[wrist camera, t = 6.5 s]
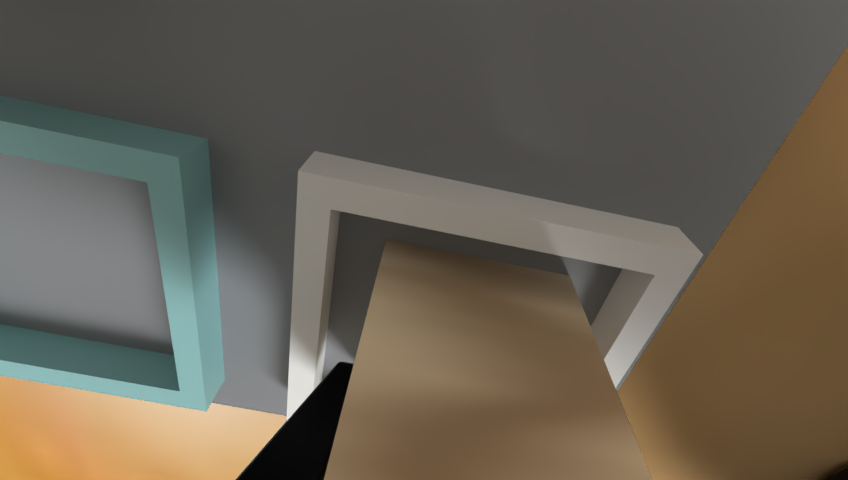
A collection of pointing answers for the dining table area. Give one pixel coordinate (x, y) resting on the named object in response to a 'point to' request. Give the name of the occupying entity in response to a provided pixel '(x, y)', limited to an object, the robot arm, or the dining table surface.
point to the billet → (479, 379)
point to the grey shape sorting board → (364, 169)
